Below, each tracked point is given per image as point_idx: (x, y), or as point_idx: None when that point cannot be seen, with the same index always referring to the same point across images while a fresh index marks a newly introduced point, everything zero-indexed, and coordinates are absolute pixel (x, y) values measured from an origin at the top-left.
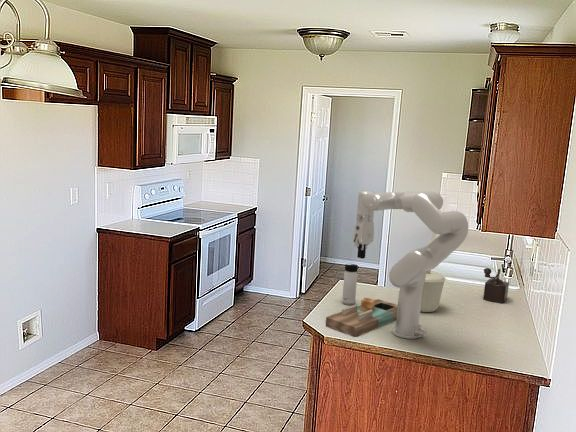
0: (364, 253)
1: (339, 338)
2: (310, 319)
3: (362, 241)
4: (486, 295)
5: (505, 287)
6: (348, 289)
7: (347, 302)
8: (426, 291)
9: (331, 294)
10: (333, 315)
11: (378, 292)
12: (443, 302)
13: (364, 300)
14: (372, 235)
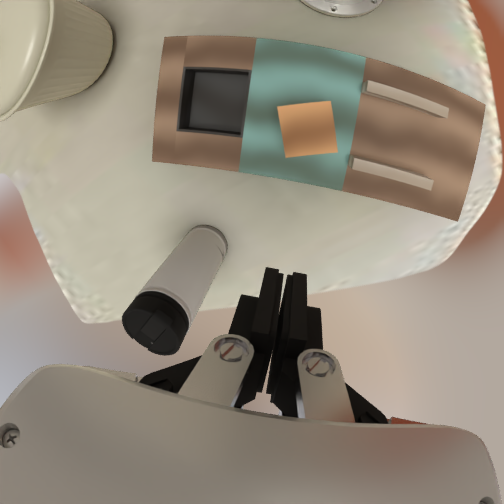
0: (276, 304)
1: (498, 141)
2: (419, 268)
3: (482, 473)
4: None
5: None
6: (211, 267)
7: (224, 243)
8: (74, 6)
9: None
10: (434, 208)
11: (65, 222)
12: None
13: (329, 139)
14: (13, 496)
